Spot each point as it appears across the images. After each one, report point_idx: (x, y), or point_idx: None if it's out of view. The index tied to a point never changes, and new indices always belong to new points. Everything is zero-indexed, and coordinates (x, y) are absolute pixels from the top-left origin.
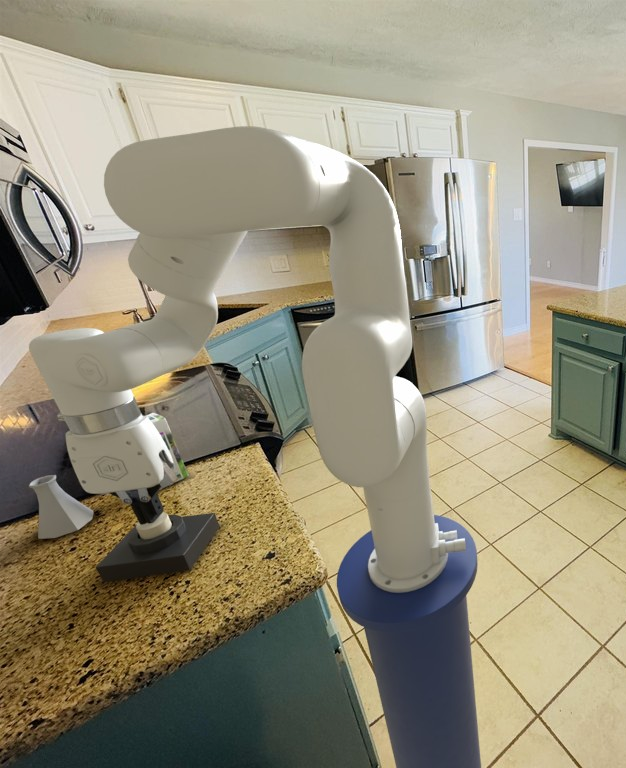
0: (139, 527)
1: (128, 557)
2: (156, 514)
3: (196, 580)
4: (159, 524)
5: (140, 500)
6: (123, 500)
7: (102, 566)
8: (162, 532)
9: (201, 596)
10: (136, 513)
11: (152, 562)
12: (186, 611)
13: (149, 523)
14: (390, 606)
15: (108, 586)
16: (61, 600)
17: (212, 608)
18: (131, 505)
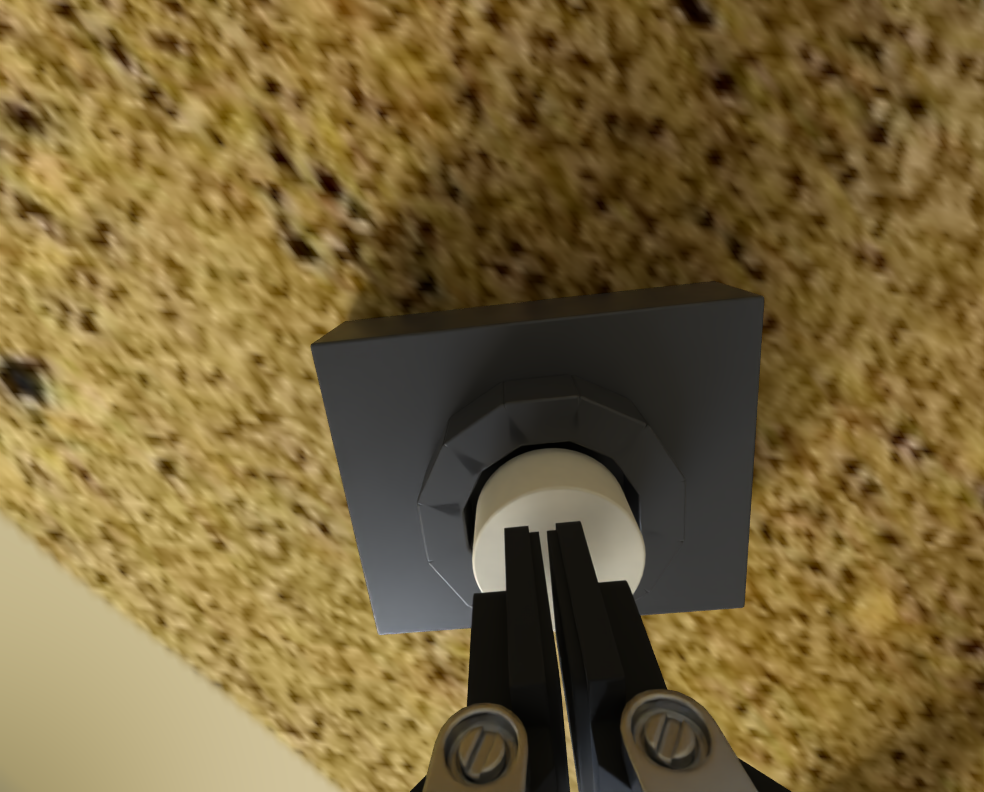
0: (601, 511)
1: (620, 356)
2: (485, 593)
3: (267, 255)
4: (480, 527)
5: (581, 732)
6: (712, 746)
7: (726, 300)
8: (486, 490)
9: (164, 148)
10: (588, 593)
11: (474, 321)
12: (166, 53)
13: (522, 526)
14: None
15: (678, 257)
16: (853, 187)
17: (47, 61)
18: (619, 673)
